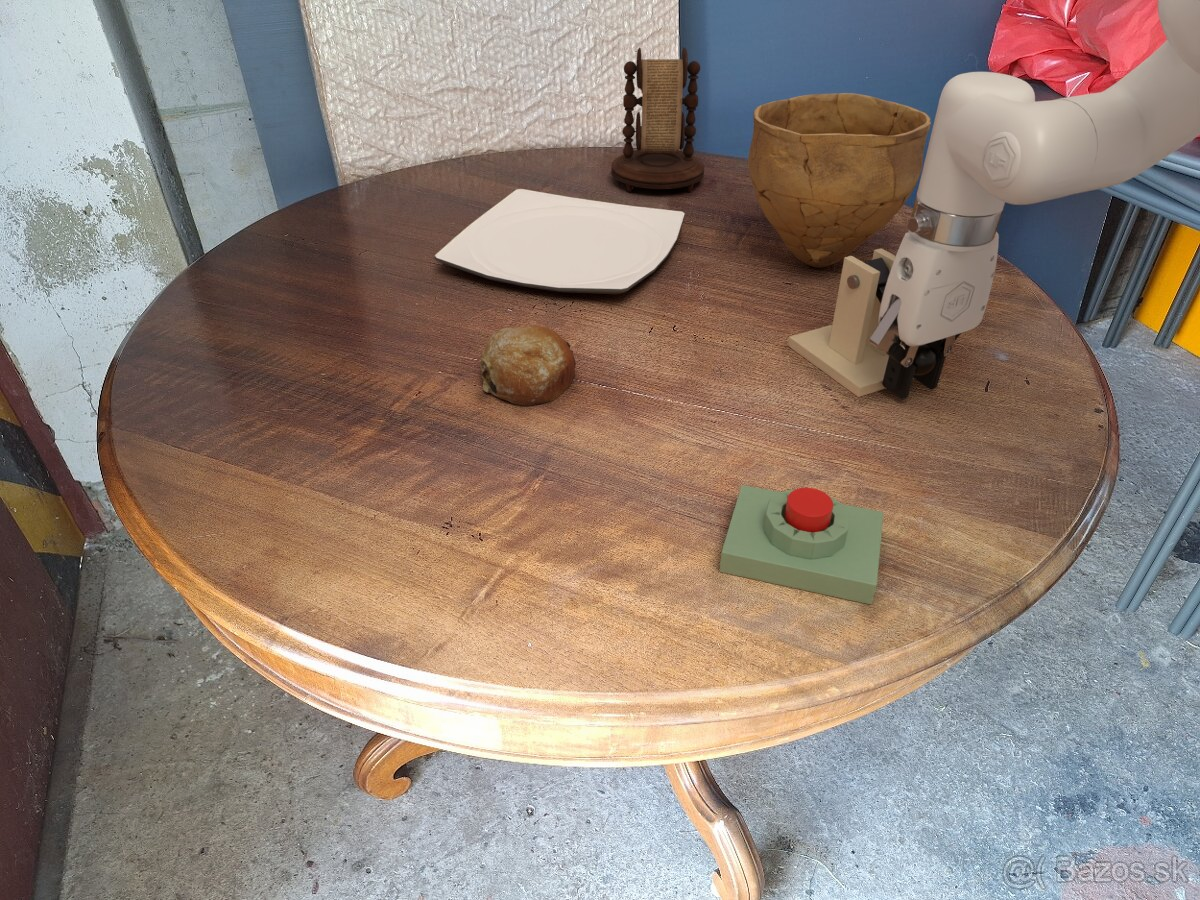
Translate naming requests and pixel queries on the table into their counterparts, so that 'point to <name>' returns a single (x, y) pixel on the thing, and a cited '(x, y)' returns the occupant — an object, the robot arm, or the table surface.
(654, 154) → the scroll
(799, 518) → the button
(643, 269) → the plate
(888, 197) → the bowl
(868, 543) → the button block
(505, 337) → the bread roll
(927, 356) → the black ball knob lever
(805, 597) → the table surface
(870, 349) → the lever bracket
